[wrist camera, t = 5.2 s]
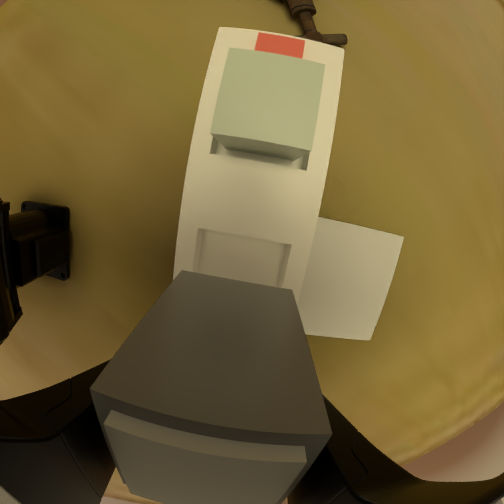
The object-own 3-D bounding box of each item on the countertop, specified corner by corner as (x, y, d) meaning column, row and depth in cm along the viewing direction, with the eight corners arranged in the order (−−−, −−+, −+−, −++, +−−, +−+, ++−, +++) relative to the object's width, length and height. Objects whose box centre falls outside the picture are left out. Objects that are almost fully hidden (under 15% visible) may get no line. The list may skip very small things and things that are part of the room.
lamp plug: (225, 149, 17) (210, 133, 11) (238, 87, 16) (229, 47, 10) (293, 161, 17) (311, 151, 11) (304, 99, 16) (325, 64, 10)
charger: (175, 357, 12) (120, 493, 4) (181, 270, 11) (80, 401, 3) (269, 374, 12) (274, 521, 5) (292, 289, 11) (336, 450, 3)
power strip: (277, 343, 21) (280, 372, 18) (179, 326, 21) (166, 352, 17) (333, 65, 16) (347, 44, 12) (224, 46, 16) (218, 21, 12)
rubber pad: (284, 328, 21) (284, 331, 20) (311, 215, 19) (312, 215, 18) (368, 337, 21) (369, 340, 21) (401, 235, 19) (403, 237, 18)
